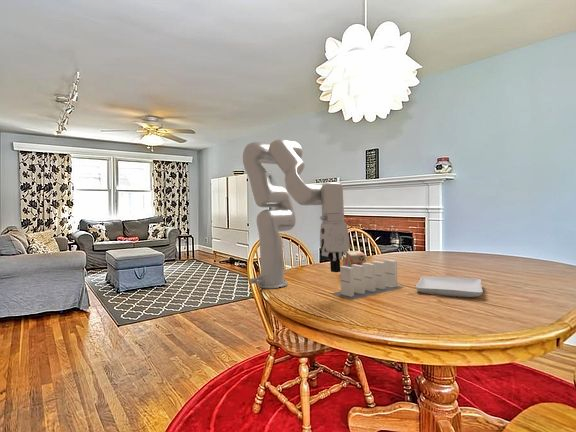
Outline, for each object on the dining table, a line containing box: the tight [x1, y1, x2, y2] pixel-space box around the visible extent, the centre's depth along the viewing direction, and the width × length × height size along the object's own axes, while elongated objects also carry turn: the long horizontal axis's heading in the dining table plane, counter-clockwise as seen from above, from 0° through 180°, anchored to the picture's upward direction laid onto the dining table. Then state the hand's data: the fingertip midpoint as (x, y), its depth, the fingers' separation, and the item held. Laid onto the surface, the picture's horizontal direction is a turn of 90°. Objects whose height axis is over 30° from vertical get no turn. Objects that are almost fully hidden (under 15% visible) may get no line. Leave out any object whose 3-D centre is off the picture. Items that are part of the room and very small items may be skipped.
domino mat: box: [330, 284, 405, 301], centre depth 130 cm, size 28×11×1 cm, turn 124°
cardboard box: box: [342, 250, 367, 267], centre depth 152 cm, size 21×6×12 cm, turn 0°
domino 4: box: [371, 260, 386, 289], centre depth 133 cm, size 2×5×10 cm, turn 34°
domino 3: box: [362, 262, 375, 292], centre depth 130 cm, size 2×5×10 cm, turn 34°
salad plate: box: [415, 275, 484, 298], centre depth 127 cm, size 21×21×3 cm
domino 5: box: [383, 259, 398, 287], centre depth 135 cm, size 2×5×10 cm, turn 34°
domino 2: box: [351, 264, 365, 294], centre depth 127 cm, size 2×5×10 cm, turn 34°
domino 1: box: [339, 265, 354, 297], centre depth 123 cm, size 2×5×10 cm, turn 34°
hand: (335, 271), depth 120 cm, fingers closed
